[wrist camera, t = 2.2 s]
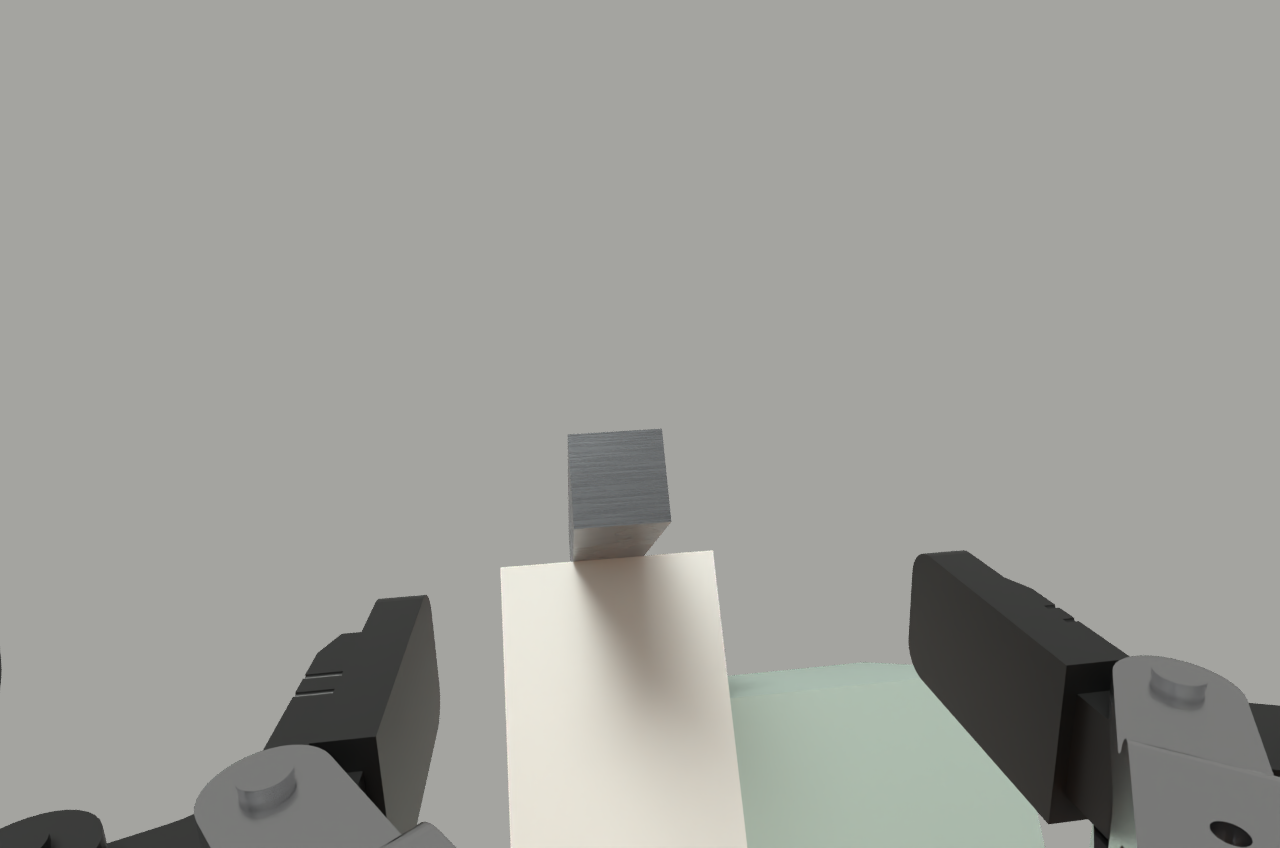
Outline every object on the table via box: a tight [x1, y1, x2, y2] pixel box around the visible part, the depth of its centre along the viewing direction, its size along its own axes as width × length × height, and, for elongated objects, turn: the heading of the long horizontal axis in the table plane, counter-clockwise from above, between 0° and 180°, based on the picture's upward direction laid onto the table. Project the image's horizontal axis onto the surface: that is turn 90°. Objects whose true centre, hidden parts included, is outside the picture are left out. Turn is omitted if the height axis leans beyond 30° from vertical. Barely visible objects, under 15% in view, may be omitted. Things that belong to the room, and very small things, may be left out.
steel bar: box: [568, 429, 671, 562], centre depth 34 cm, size 22×3×3 cm, turn 5°
